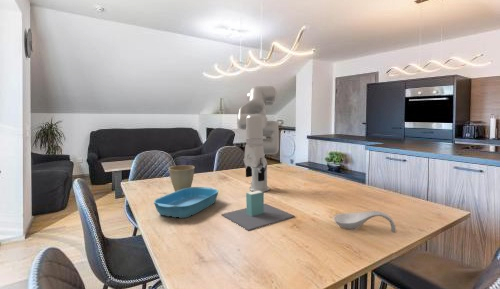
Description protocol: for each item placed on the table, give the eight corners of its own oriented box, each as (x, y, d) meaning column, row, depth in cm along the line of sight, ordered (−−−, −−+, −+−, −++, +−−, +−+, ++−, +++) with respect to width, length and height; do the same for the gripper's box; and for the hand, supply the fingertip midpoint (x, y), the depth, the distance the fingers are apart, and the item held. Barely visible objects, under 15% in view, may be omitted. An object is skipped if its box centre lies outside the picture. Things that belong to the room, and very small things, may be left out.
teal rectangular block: (246, 213, 134) (246, 192, 133) (258, 210, 138) (258, 190, 137) (251, 216, 131) (251, 194, 130) (263, 213, 135) (263, 192, 134)
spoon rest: (334, 230, 116) (334, 213, 115) (333, 220, 128) (333, 204, 127) (398, 237, 110) (399, 219, 109) (391, 225, 121) (392, 208, 120)
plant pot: (164, 196, 165) (163, 169, 163) (177, 189, 179) (176, 164, 178) (188, 198, 162) (187, 170, 160) (199, 191, 176) (198, 165, 174)
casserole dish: (191, 196, 167) (190, 184, 166) (225, 200, 158) (224, 187, 157) (144, 217, 133) (144, 203, 132) (184, 225, 124) (184, 209, 123)
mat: (221, 215, 134) (221, 214, 134) (265, 204, 149) (265, 203, 149) (248, 231, 116) (248, 229, 116) (294, 217, 131) (294, 215, 131)
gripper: (237, 141, 135) (238, 176, 138) (259, 144, 121) (259, 184, 124) (250, 139, 140) (250, 174, 142) (273, 143, 126) (273, 181, 128)
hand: (254, 178), depth 133 cm, fingers open, 9 cm apart
